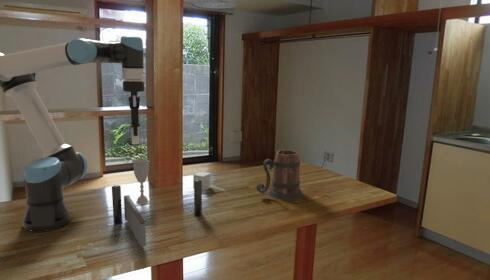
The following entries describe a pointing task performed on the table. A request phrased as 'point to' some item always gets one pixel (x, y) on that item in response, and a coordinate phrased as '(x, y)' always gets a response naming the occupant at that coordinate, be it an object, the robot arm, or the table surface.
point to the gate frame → (118, 209)
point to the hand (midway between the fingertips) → (135, 143)
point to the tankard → (283, 176)
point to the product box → (203, 179)
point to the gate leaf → (135, 220)
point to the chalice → (141, 176)
